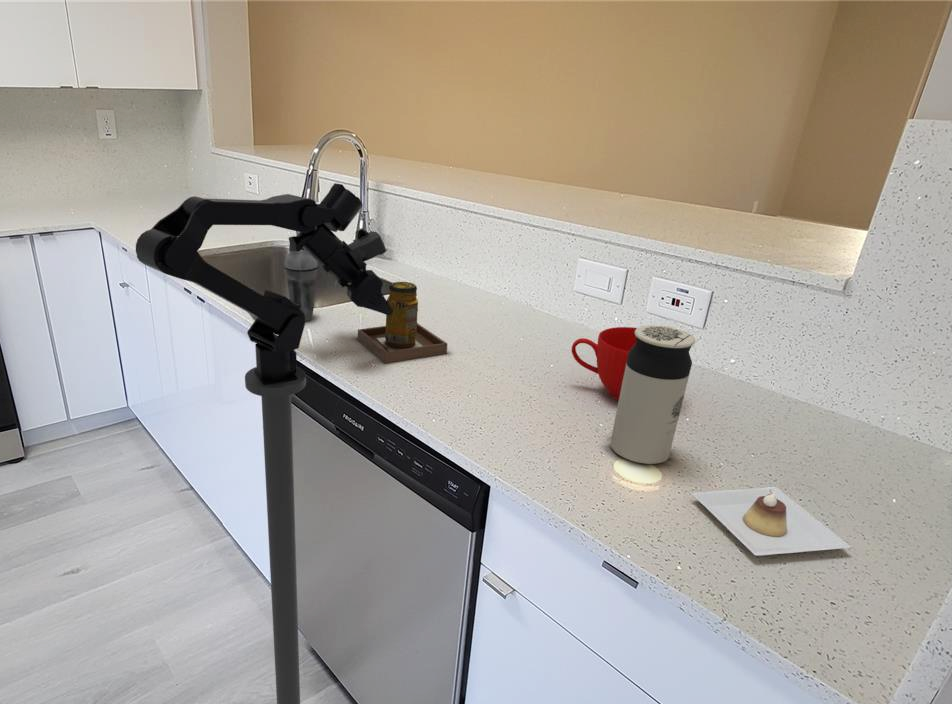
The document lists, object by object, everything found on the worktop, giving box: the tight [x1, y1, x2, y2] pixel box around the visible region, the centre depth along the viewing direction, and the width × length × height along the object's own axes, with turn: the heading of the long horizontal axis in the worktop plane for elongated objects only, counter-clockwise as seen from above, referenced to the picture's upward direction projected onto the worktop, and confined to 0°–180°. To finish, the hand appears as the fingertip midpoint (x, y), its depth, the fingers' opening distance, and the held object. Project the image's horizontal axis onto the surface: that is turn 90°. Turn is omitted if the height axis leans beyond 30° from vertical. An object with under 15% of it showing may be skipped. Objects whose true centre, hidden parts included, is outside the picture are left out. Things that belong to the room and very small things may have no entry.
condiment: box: [377, 281, 422, 351], centre depth 125 cm, size 7×8×12 cm
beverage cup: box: [283, 231, 319, 322], centre depth 138 cm, size 7×7×20 cm
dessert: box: [691, 486, 852, 557], centre depth 77 cm, size 12×12×5 cm
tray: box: [357, 322, 448, 364], centre depth 128 cm, size 13×13×2 cm
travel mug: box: [609, 324, 696, 465], centre depth 90 cm, size 8×8×18 cm
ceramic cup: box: [571, 326, 638, 401], centre depth 109 cm, size 13×17×10 cm
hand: (385, 305), depth 124 cm, fingers open, 9 cm apart
